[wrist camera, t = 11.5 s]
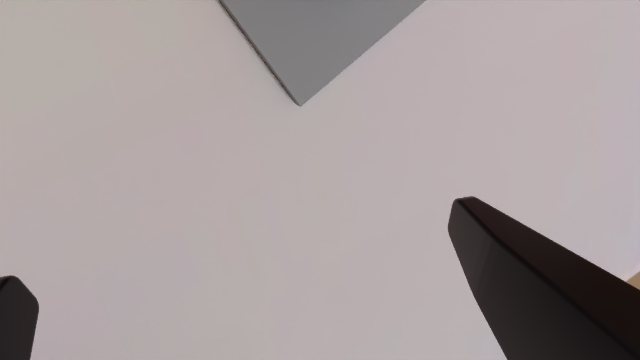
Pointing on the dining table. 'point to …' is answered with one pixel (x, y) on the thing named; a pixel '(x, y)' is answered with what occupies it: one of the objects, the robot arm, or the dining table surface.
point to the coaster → (314, 35)
